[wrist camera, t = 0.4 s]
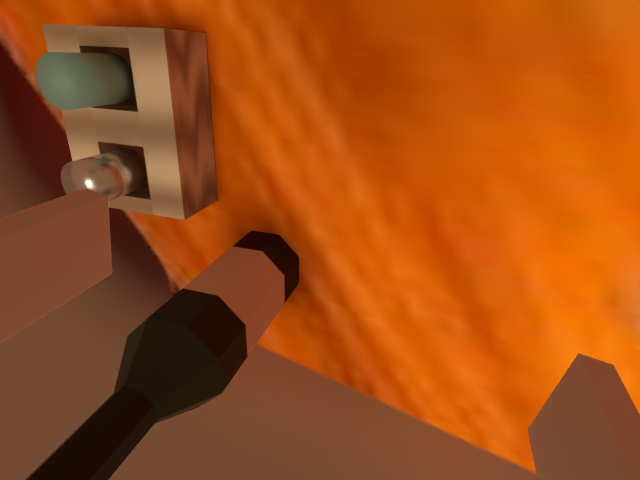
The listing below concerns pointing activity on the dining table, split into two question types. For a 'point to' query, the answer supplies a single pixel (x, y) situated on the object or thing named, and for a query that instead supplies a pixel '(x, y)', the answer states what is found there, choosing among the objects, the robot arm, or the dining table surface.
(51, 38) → the socket block
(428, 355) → the dining table surface
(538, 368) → the dining table surface
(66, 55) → the teal peg
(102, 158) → the steel peg
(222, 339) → the wine bottle
